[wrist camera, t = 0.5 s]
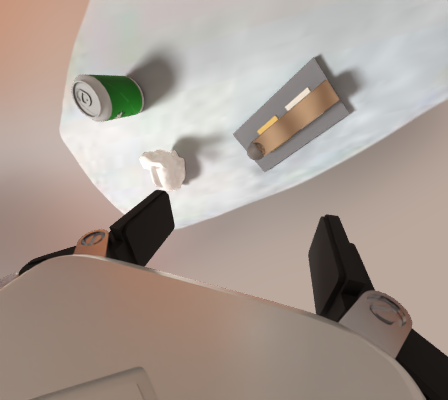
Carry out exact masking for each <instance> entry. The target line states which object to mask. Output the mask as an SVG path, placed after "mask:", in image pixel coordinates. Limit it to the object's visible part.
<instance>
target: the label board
mask: <svg viewBox="0 0 448 400" xmlns="http://www.w3.org/2000/svg"><path fill="white" fill-rule="evenodd" d="M324 80H327V81H328V79H327V78H326V76H325V75H324V73H323V71H322V70H321V68H320V67H319V65H318V63H317V62H316V60H315V59H314V57H313V58H312V59H311V60H310V61H309V62H308V63H307V64H306V65H305V66H304V67H303V68H302V69H301V70H300V71H299V72H298V73H297V74H296V75H294V76H293V77H292V78H291V79H290V80H289V81H288V82H287V83H286V84H285V85H284V86H283V87H282V88H281V89H280V90H279V91H278V92H277V93H276V94H275V95H273V96H272V97H271V98H270V99H269V100H268V101H267V102H266V103H265V104H264V105H263V106H262V107H261V108H260V109H259V110H258V111H257V112H256V113H255V114H254V115H253V116H251V117H250V118H249V119H248V120H247V121H246V122H245V123H244V124H243V125H242V126H241V127H240V128H239V129H238V130H237V131H236V132H235V133H234V134H233V135H234V136H235V138H236V139H237V140H238V141H239V142H240V144H241V145H242V146H243V147H244V148H245V149H246V151H247V149H248V147H249V145H250V143H251V142H252V141H254V140H255V139H256V138H257V137H258V136H259V135H260V134H262V133H263V132H264V131H265V130H266V129H267V128H269V127H270V126H271V125H272V124H273V123H275V122H276V121H277V120H278V119H279V118H280V117H282V116H283V115H284V114H285V113H286V112H287V111H289V110H290V109H291V108H292V107H293V106H294V105H296V104H297V103H298V102H299V101H300V100H302V99H303V98H304V97H305V96H306V95H307V94H309V93H310V92H311V91H312V90H313V89H314V88H316V87H317V86H318V85H319V84H320V83H322V82H323V81H324ZM328 82H329V81H328ZM329 84H330V82H329ZM330 86H331V84H330ZM331 87H332V86H331ZM332 89H333V87H332ZM333 90H334V89H333ZM334 92H335V90H334ZM335 93H336V92H335ZM336 95H337V93H336ZM337 97H338V95H337ZM338 98H339V97H338ZM348 114H349V112H348V111H347V109H346V108H345V106H344V104H343V103H342V101H341V100H340V98H339V100H338V101H337V102H336V103H334V104H333V105H332V106H330V107H329V108H328V109H327V110H325V111H324V112H323V113H321V114H320V115H319V116H317V117H316V118H315V119H313V120H312V121H311V122H309V123H308V124H307V125H305V126H304V127H303V128H301V129H300V130H299V131H297V132H296V133H295V134H293V135H292V136H291V137H289V138H288V139H287V140H285V141H284V142H283V143H281V144H280V145H279V146H278V147H276V148H275V149H274V150H272V151H271V152H270V153H268V154H267V155H266V156H264V157H263V158H262V159H260V160H255V161H256V163H257V164H258V165H259V166H260V167H261V168H262V170H263V171H264V172H266V171H267V170H269V169H270V168H272V167H273V166H275V165H276V164H278V163H279V162H280V161H282V160H283V159H285V158H286V157H288V156H289V155H291V154H292V153H293V152H295V151H296V150H298V149H299V148H301V147H302V146H304V145H305V144H306V143H308V142H309V141H311V140H312V139H314V138H315V137H317V136H318V135H319V134H321V133H322V132H324V131H325V130H327V129H328V128H330V127H331V126H332V125H334V124H335V123H337V122H338V121H340V120H341V119H343V118H344V117H345V116H347V115H348Z"/></svg>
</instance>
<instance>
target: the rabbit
mask: <svg viewBox="0 0 448 400" xmlns="http://www.w3.org/2000/svg"><path fill="white" fill-rule="evenodd" d="M140 162H141V164H142V166H143V167H144V168H145V169H149V170H150V172H151V177H152V180H153V182H154V184H155V185H156V186H157V187H159V188H161V189H162V190H167V191H172V190H178V189H180V188H181V185H182V182H183V181H184V179H185V174H186V173H185V160H184V159H183V158H181V157H179V156H178V154H177V153H176V151H174V150H171V151H170V153H169V152H167V151H164V150H156V151H155V152H144V153H143V154H142V155H141V157H140Z"/></svg>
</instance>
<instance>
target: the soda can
mask: <svg viewBox="0 0 448 400" xmlns="http://www.w3.org/2000/svg"><path fill="white" fill-rule="evenodd" d="M72 96H73V99H74V102H75V104H76V105H77V107H78V108H79V110H80V111H81V112H82V113H83V114H85V115H86V116H88V117H89V118H91V119H92V120H95V121H97V122H103V121H108V120H112V119H117V118H122V117H126V116H131V115H136V114H138V113H140V112H141V111H142V109H143V107H144V96H143V92H142V90H141V88H140V86H139V85H138V84H137V83H136V81H134V80H133V79H132V78H130V77H127V76H108V75H79V76H78V77H76V78H75V80H74V82H73V85H72Z"/></svg>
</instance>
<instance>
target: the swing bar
mask: <svg viewBox="0 0 448 400" xmlns="http://www.w3.org/2000/svg"><path fill="white" fill-rule="evenodd" d="M338 100H339V98H338V97H337V95H336V93H335V92H334V90H333V89H332V87H331V86H330V84H329V82H328V81H327V80H324V81H323V82H322V83H320V84H319V85H318V86H317V87H316V88H314V89H313V90H312V91H311V92H310V93H309V94H307V95H306V96H305V97H304V98H303V99H302V100H300V101H299V102H298V103H297V104H296V105H294V106H293V107H292V108H291V109H290V110H289V111H287V112H286V113H285V114H284V115H283V116H282V117H280V118H279V119H278V120H277V121H276V122H275V123H273V124H272V125H271V126H270V127H269V128H267V129H266V130H265V131H264V132H263V133H262V134H260V135H259V136H258V137H257V138H256V139H255V140H254V141H252V142H251V143H250V145H249V147H248V149H247V154H248V156H249V157H250V158H251V159H253V160H260V159H262V158H263V157H264V156H266V155H267V154H268V153H270V152H271V151H272V150H274V149H275V148H276V147H278V146H279V145H280V144H281V143H283V142H284V141H285V140H287V139H288V138H289V137H291V136H292V135H293V134H295V133H296V132H297V131H299V130H300V129H301V128H303V127H304V126H305V125H307V124H308V123H309V122H311V121H312V120H313V119H315V118H316V117H317V116H319V115H320V114H321V113H323V112H324V111H325V110H327V109H328V108H329V107H330V106H332V105H333V104H334V103H336V102H337V101H338Z"/></svg>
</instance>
